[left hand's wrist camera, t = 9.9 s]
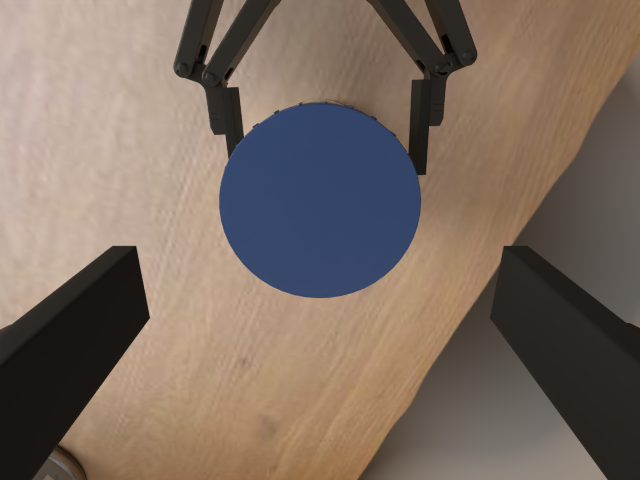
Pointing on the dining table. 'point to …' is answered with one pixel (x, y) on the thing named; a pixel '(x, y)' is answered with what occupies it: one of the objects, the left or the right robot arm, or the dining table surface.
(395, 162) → the lid
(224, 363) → the dining table surface
